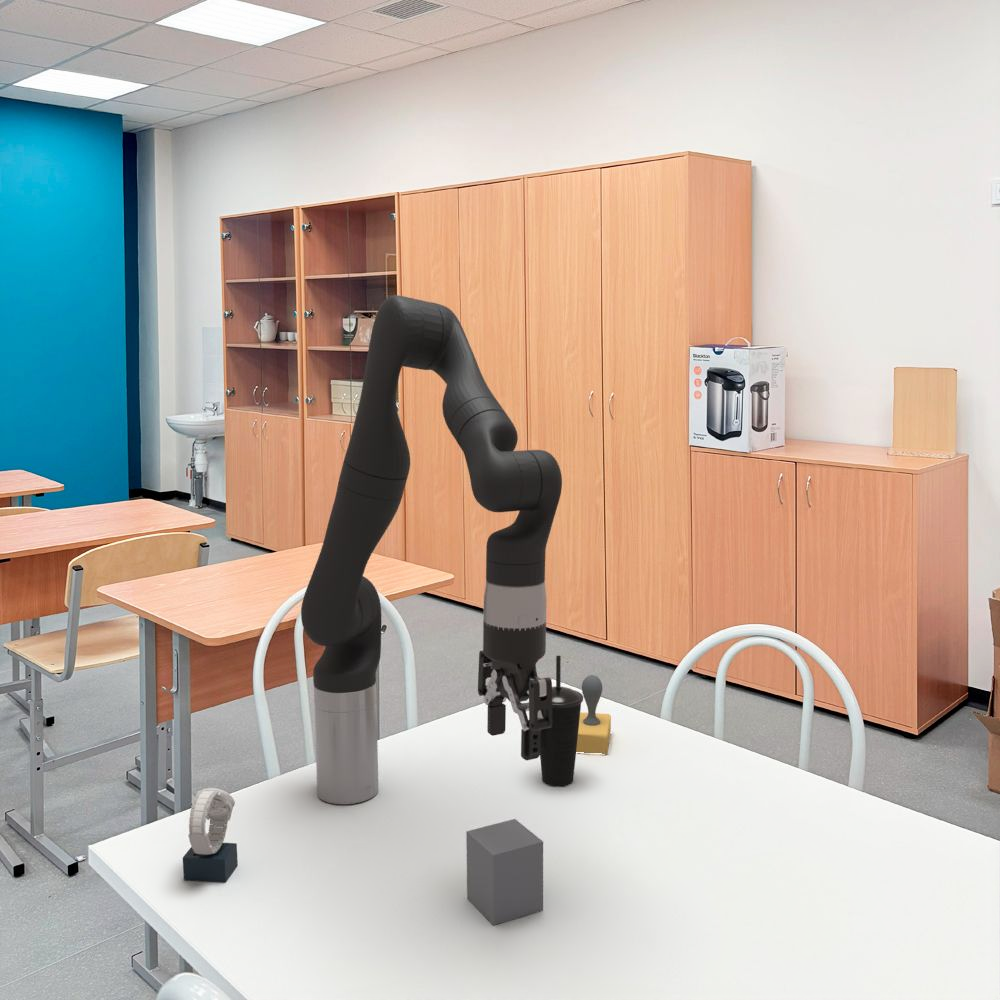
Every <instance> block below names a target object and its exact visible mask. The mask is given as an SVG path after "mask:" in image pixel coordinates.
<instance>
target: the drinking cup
mask: <svg viewBox="0 0 1000 1000" xmlns="http://www.w3.org/2000/svg"><path fill="white" fill-rule="evenodd" d="M555 661H556V662H555V686H552V727H551V728H546V729H541V734H540V756H539V757H540V758H539V759H540V769H541V781H542V782H543V784H545V785H547V786H550V787H556V786H561V787H566V785H567V786H569V784H570V785H571V784H572V783H574V778H575V776H574V775H575V766H576V765H575V764H576V759H577V758H576V756H577V754H576V749H577V739H578V729H579V719H580V712H581V709H582V708H581V707H582V702H583V701H584V696H583V693H581V692H580V691H578V690H575V689H573V688H570V687H566V686H562V685H561V680H562V679H561V678H562V677H561V673H562V672H561V666H562V664H561V662H562V660H561V655H556V656H555ZM583 703H584V702H583ZM541 713H542V716H543V718H544V710H541Z"/></svg>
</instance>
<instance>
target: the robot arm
mask: <svg viewBox="0 0 1000 1000" xmlns="http://www.w3.org/2000/svg"><path fill="white" fill-rule="evenodd" d="M375 315H376V316H375V318H374V322H373V325H372V329H371V333H370V337H369V338H370V339H369V345H368V350H367V356H366V361H365V369H364V374H363V380H362V387H361V393H360V396H359V402H358V407H357V411H356V414H355V419H354V423H353V427H352V431H351V433H350V434H351V435H350V439H349V441H348V442H349V443H348V445H347V448H346V451H345V454H344V457H343V458H344V459H343V462H342V466H341V469H340V474H339V478H338V483H337V486H336V487H337V488H336V493H335V497H334V501H333V503H332V508H331V512H330V515H329V519H328V523H327V525H326V526H327V527H326V530H325V531H326V532H325V534H324V538H323V543H322V546H321V549H320V552H319V556H318V558H317V561H316V562H315V566H314V568H313V571H312V574H311V575H310V579H309V582H308V584H307V587H306V590H305V592H304V595H303V598H302V602H301V607H300V616H301V617H300V618H301V624H302V627H303V630H304V632H305V634H306V636H307V637H308V639H310V640H311V641H312V642H313V643H315V644H316V645H319V646H322V647H325V648H324V649H323V652H322V654H321V655H320V658H319V659H318V660H317V662H316V663H315V665H314V667H313V673H312V676H313V699H314V700H313V701H314V702H313V703H314V732H315V734H314V735H315V761H316V762H315V763H316V764H315V765H316V766H315V768H316V792H317V793H316V794H317V797H318V798H319V799H320V800H322V801H324V802H326V803H330V804H334V805H353V804H358V803H361V802H362V803H363V802H365V801H368V800H371V799H372V798H374V797H375V796H376V795H377V794H378V792H379V752H378V751H379V749H378V747H379V746H378V712H377V711H378V709H377V705H378V704H377V670H378V667H379V664H380V660H381V653H382V652H381V650H382V606H381V605H382V604H381V601H380V596H379V592H378V591H377V588H376V587H375V585H374V584H373V583H372V582H371V581H370V580H369V579H368V578H367V577H365V576H364V573H365V571H366V567H367V564H368V562H369V560H370V558H371V555H372V553H374V551H375V549H376V547H377V545H378V544H379V542H380V541H381V539H382V538H383V536H384V534H386V531H387V530H388V528H389V526H390V525H391V523H392V521H393V519H394V517H395V516H396V514H397V512H398V510H399V508H400V504H401V501H402V499H403V495H404V492H405V488H406V485H407V481H408V476H409V473H410V468H411V454H410V449H409V445H408V441H407V438H406V435H405V432H404V429H403V426H402V423H401V420H400V416H399V413H398V407H397V406H398V405H397V392H398V384H399V378H400V375H401V374H400V373H401V370H402V369H403V368H402V367H404V368H411V369H415V370H416V369H418V370H423V371H432V372H434V373H435V374H437V376H439V377H440V378H441V379H442V380H443V382H445V384H446V386H445V389H444V394H443V398H442V415H443V418H444V422H445V424H446V426H447V428H448V430H449V432H450V433H451V435H452V436H453V438H454V440H455V441H456V443H457V445H458V446H459V448H460V449H461V451H462V452H463V455H464V459H465V463H466V466H467V470H468V475H469V480H470V487H471V491H472V495H473V497H474V499H475V501H476V502H477V503H478V504H479V505H480V506H481V507H483V508H484V509H486V510H487V511H490V512H492V513H509V512H518V514H517V516H516V517H515V520H514V521H513V523H511V524H510V525H508V526H507V527H503V528H502V529H499V530H497V531H494V532H492V533H491V534H490V535H489V536H488V538H487V541H486V545H485V546H486V552H485V553H486V555H485V557H486V558H485V586H484V587H485V588H484V593H483V594H484V595H483V614H482V615H483V616H482V617H483V621H482V623H483V625H482V627H483V629H482V631H483V632H482V633H483V635H482V636H483V637H482V638H483V639H482V640H483V641H482V650H480V651H479V654H478V676H477V677H478V678H477V693H478V695H479V696H480V697H481V696H483V697H484V698H483V699H484V703H485V706H487V727H486V728H487V729H486V731H487V733H488V734H489V735H490V736H498V735H503V734H505V733H506V721H507V720H506V718H507V717H506V716H507V715H506V712H507V711H506V709H507V704H505V702H506V701H507V700H508V701H509V702H510V705H511V707H512V711H513V713H514V714H517V715H518V718H519V722H520V725H521V726H520V727H521V732H520V733H521V735H520V738H521V740H520V756H521V758H522V759H523V760H524V761H531V760H535V759H538V758H539V757H540V734H541V729H546V728H551V727H552V687H553V682H552V679H551V678H550V677H544V678H541V677H538V673H537V671H538V670H537V665H536V664H537V663H538V662H539V661H540V660H541V659H542V658H543V657H544V656H545V655H546V649H547V648H546V646H547V645H546V643H547V641H546V639H547V606H548V605H547V603H548V602H547V600H548V599H547V591H546V581H545V580H546V549H547V545H548V542H549V541H548V540H549V537H550V533H551V530H552V527H553V522H554V519H555V515H556V513H557V510H558V506H559V503H560V499H561V495H562V488H563V478H562V476H563V475H562V471H561V467H560V465H559V462H558V461H557V460H556V458H555V456H553V455H552V454H551V453H550V452H549V451H546V450H543V449H528V450H527V449H526V450H525V449H524V450H515V449H516V447H517V444H518V440H519V437H518V431H517V429H516V427H515V424H514V422H513V421H512V420H511V418H510V417H509V415H508V413H506V411H505V410H504V408H503V407H502V405H501V404H500V403H499V401H498V400H497V398H496V397H495V395H494V394H493V392H492V391H491V388H489V386H488V384H487V382H486V380H485V378H484V376H483V374H482V372H481V370H480V368H479V367H480V366H479V364H478V362H477V359H476V357H475V354H474V352H473V349H472V347H471V345H470V342H469V340H468V338H467V336H466V333H465V331H464V328H463V326H462V325H461V322H460V320H459V318H458V317H457V316H456V314H455V313H454V311H452V310H451V309H450V308H449V307H447V306H446V305H443V304H440V303H436V302H432V301H426V300H421V299H418V298H413V297H409V296H404V295H397V294H396V295H391V296H388V297H386V299H385V300H383V301H382V303H381V304H380V307H379V308H378V310H377V313H376V314H375ZM488 678H489V680H488V682H487V679H488ZM541 710H544V718H543V716H542V713H541ZM527 712H528V714H527Z"/></svg>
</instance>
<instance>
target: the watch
mask: <svg viewBox="0 0 1000 1000" xmlns="http://www.w3.org/2000/svg"><path fill="white" fill-rule="evenodd" d="M235 804H236V802H235V798H234V797H233V796H232V795H231V794H230V793H229V792H227V791H225V790H222V789H221V788H220V789H219V788H216V787H215V788H214V787H207V788H204V789H201V790H198V791H197V792H196V795H195V797H194V799H193V801H192V804H191V808H190V812H189V820H188V822H189V824H188V829H189V830H188V831H189V832H188V835H187V836H188V839H189V843H190V848H189V849H188V850H187V852H186V853H185V854H184V855H183V857H182V867H183V868H182V871H183V881H184V882H185V881H187V882H204V883H205V882H206V883H207V882H208V883H210V882H211V883H227V882H228V880H229V879H230V877H231V876H232V874H233V873H234V872H235V871H236V869H237V867H238V866H239V865H238V844H237V843H235V842H224V841H225V838H226V834H227V829H228V822H230V820H231V817H232V813H233V809H234V807H235ZM207 820H208V821H209V826H208V832H207V833H206V823H207V822H206V821H207Z"/></svg>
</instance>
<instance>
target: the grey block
mask: <svg viewBox="0 0 1000 1000" xmlns="http://www.w3.org/2000/svg"><path fill="white" fill-rule="evenodd" d="M465 833H466V834H465V835H466V837H465V838H466V899H467V900H468V901H469V902H470V903H471V904H472V905H473V906H474V907H475V909H477V910H478V912H480V913H481V915H483V916H484V917H485V918H486V919H487V921H489V922H490V923H491V925H493V926H496V925H500V924H503V923H506V922H510V921H512V919H513V920H515V919H519V918H522V917H525V915H526V916H529V915H531V914H530V913H532V914H534V913H533V912H535V913H538V912H541V911H540V910H542V911H543V910H544V840H542V838H540V837H538V836H537V835H536V834H534V833H533V832H532V831H531V830H529V828H527V827H526V826H525V825H524V824H523V823H521V822H519V821H518V819H516V818H513V819H509V820H504V821H502V822H501V821H500V822H498V823H493V824H490V825H489V824H488V825H486V826H482V827H478V828H474V829H470V830H467V831H466V832H465ZM537 911H538V912H537ZM528 914H529V915H528ZM521 916H522V917H521ZM518 917H519V918H518ZM502 922H503V923H502ZM499 923H500V924H499Z"/></svg>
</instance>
